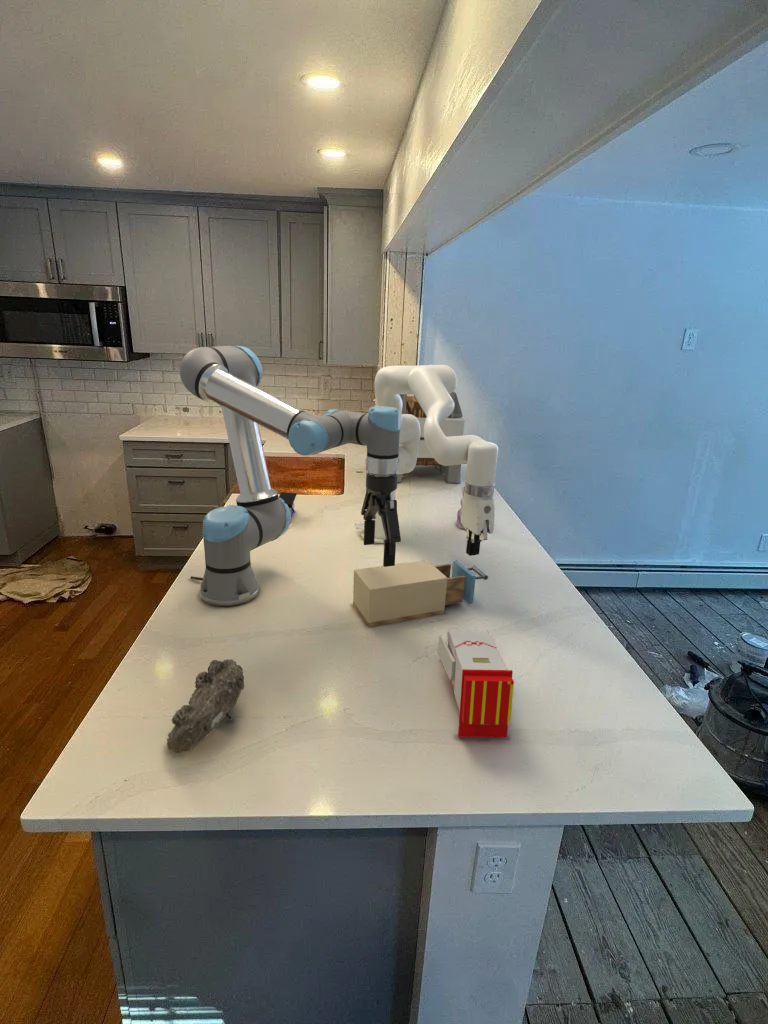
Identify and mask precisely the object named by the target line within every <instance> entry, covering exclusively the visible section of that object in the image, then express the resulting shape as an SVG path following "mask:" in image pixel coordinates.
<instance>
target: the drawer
mask: <svg viewBox="0 0 768 1024" xmlns="http://www.w3.org/2000/svg"><path fill="white" fill-rule="evenodd" d="M434 566H435V567H436V568H437V569H438V570H439V571H440V572H441V573H442V574H444V575H445V576H446V577H447V587H446V598H445V606H449V605H455V604H461V603H463V601H465V602H466V603H467V604H468V605H473V604H474V596H475V588H476V580H485V581H486V580H488V579H489V575H488V574H486V573H485V572H484V571H483V570H481V569H480V568H479V567H478V566H477V565H476V564H475V565H472V566H471V567H466V566H465V565H464V564H462V563H461V562H460V561H459V560H457V559H456V560H452V564H451V563H445V564H438V565H437V564H436V565H434ZM472 571H473V572H474V573H473V572H472ZM476 574H477V575H478V576H477V575H476Z"/></svg>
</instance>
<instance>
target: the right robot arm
mask: <svg viewBox="0 0 768 1024" xmlns="http://www.w3.org/2000/svg"><path fill="white" fill-rule="evenodd" d="M373 386H374V394H375V406H385V407H386V406H388V407H394V408H396V409H398V410H399V412H400V426H401V430H400V438H399V456H398V458H399V459H400V461H399V462H398V472H397V473H396V474H403V475H404V474H409V473H411V472H413V471H414V470H415V467H417V466H416V462H417V455H418V448H419V442H420V433H421V430H420V424H419V421H418V419H417V418H416V417H415V416H414V415H411V414H402V406H403V404H402V399H401V397H400V395H399V394H407V395H414V396H415V397H416V399H417V401H418V402H419V404H420V406H421V408H422V409H423V411H424V413H425V415H426V417H427V418H426V420H425V424H424V439H425V443H426V445H427V447H428V449H429V451H430V452H431V454H432V456H433V457H434V459H435V460H436V461H437V462H438V463H439V464H441V465H444V466H451V465H458V464H461V465H466V471H465V479H464V487H465V491H464V497H463V496H462V497H463V502H462V506H461V507H462V508H460V509H461V524H462V525H463V527H464V528H465V529H464V530H465V537H466V546H465V547H466V549H465V554H467V555H468V556H470V557H473V556H478V555H480V551H481V550H480V549H481V542H482V541H487V540H488V534H490V535H491V534H493V533H494V529H495V515H496V514H495V513H496V512H495V511H496V507H495V498H494V493H495V485H496V474H497V465H498V457H499V446H498V445H497V443H494V442H491V441H486V440H484V439H483V438H482V437H480V436H478V435H475V434H465V435H464V434H463V436H451V437H446V436H445V435H444V433H443V432H442V430H441V428H440V426H439V423H440V422H442V421H443V420H445V419H446V418H447V417H448V416H449V415H450V414H451V413H452V412H453V410H454V406H455V405H454V401H453V399H452V398H451V396H450V395H449V394H450V393H452V392H453V391H454V392H455V390H456V388H457V386H458V377H457V374H456V372H455V370H454V369H453V368H452V366H449V365H447V364H422V365H421V364H420V365H419V364H418V365H404V364H403V365H402V364H401V365H400V364H399V365H388V366H383V367H381V368H380V369H379V370H378V371H377V372H376V374H375V376H374V385H373ZM366 459H367V454H366V455H365V459H364V462H365V463H364V465H366ZM367 473H368V472H367V471H366V474H367ZM391 500H396V490H395V491H392V492H391ZM375 516H376V519H372V520H375V538H374V544H384V542H383V541H384V540H386V537H385V533H384V528H383V524H382V519H381V516H379V515H378V511H377V513H376V515H375ZM354 527H355V529H356V530H361V534H360V535H361V538H362V539H363V540H364V522H362V521H355V522H354Z"/></svg>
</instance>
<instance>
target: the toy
mask: <svg viewBox="0 0 768 1024" xmlns="http://www.w3.org/2000/svg"><path fill="white" fill-rule="evenodd" d="M446 640H447V643H446V641H445V639H444V636H443V635H442V634H439V637H438V646H437V656H438V657H439V659H440V661H441V663H442V666H443V668H444V670H445V672H446V674H447V677H448V679H449V681H450V684H451V687H452V690H453V693H454V697H455V701H456V705H457V708H458V711H459V714H458V715H459V716H458V730H457V731H458V732H457V737H458V738H508V731H509V726H510V725H511V717H512V707H513V697H514V696H513V695H514V684H515V680H514V679H513V673H514V671H513V670H512V669H508V667H507V665H506V662H505V661H504V659H503V658H502V655H501V653H500V651H499V649H498V647H497V643H496V639H495V637H494V635H493V634H491V632H490V631H489V629H467V628H466V629H465V628H463V629H461V628H460V629H459V628H448V630H447V639H446Z"/></svg>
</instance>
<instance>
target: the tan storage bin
mask: <svg viewBox="0 0 768 1024" xmlns="http://www.w3.org/2000/svg"><path fill="white" fill-rule="evenodd" d="M435 566H436V565H434V564H433V563H431V561H429V560H428V559H423V560H418V561H408V562H402V563H395V566H388V567H384V566H383V565H379V566H372V567H364V568H356V569H353V585H352V586H353V590H352V606H353V608H354V609H355V610H356V611H357V613H358V615H359V616H360V618H361V619H362V620H363V621H364V623H365V625H366V626H367V627H376V626H381V625H385V624H392V623H399V622H404V621H409V620H415V619H420V618H421V619H422V618H426V617H431V616H437V615H442V614H443V615H444V614H445V609H446V608H445V607H446V605H445V598H446V587H447V577H446V576H445V575H444V574H442V573H441V572H440V571H439V570H438V569H437V568H436V567H435Z"/></svg>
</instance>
